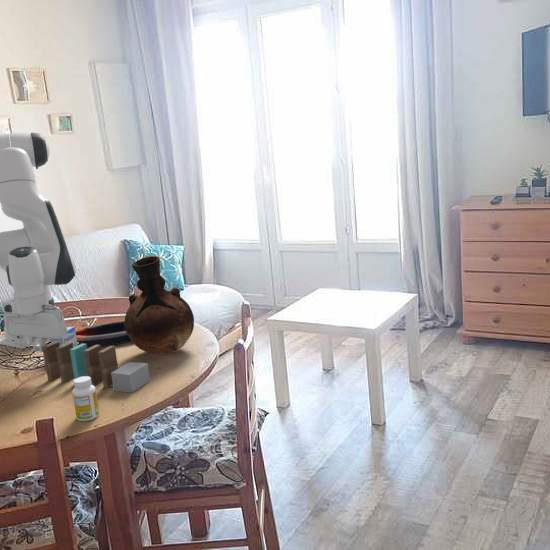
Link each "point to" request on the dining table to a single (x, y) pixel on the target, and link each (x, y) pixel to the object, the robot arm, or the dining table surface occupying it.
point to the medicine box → (67, 337)
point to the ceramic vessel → (157, 312)
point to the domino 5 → (108, 364)
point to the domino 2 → (65, 362)
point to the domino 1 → (51, 360)
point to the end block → (130, 377)
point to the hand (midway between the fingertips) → (40, 350)
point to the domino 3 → (79, 360)
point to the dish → (102, 334)
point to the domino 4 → (93, 364)
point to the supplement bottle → (85, 399)
